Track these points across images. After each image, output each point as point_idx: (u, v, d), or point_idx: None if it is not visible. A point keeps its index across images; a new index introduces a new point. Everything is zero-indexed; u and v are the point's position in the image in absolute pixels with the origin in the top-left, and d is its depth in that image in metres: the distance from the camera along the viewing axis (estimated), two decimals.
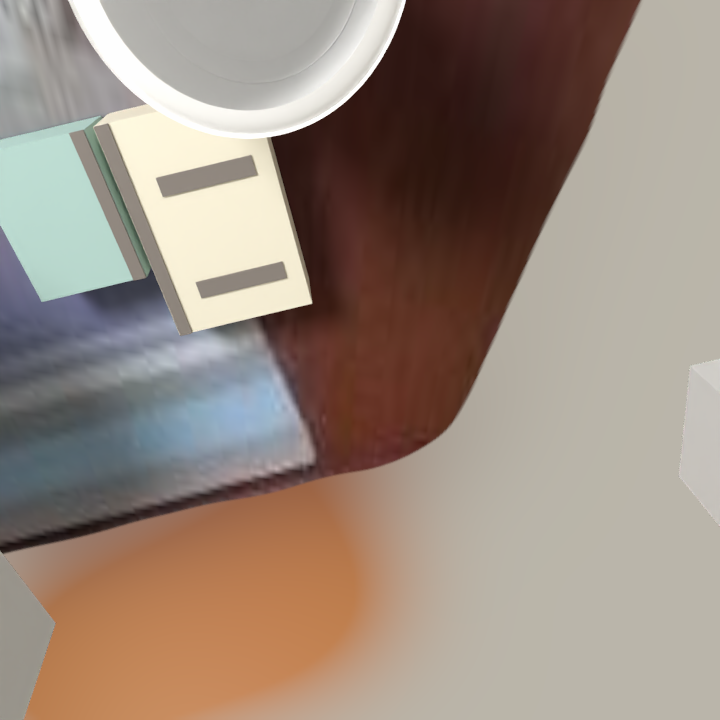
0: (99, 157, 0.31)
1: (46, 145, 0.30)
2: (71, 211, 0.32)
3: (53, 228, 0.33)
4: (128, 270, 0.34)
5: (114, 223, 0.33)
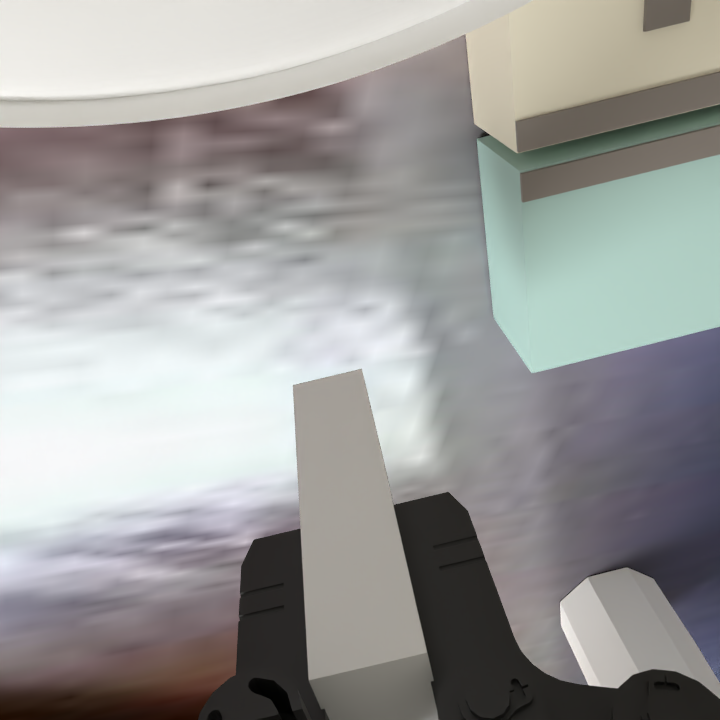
0: (570, 152, 0.15)
1: (536, 245, 0.16)
2: (660, 226, 0.16)
3: (678, 263, 0.17)
4: None
5: (709, 144, 0.15)
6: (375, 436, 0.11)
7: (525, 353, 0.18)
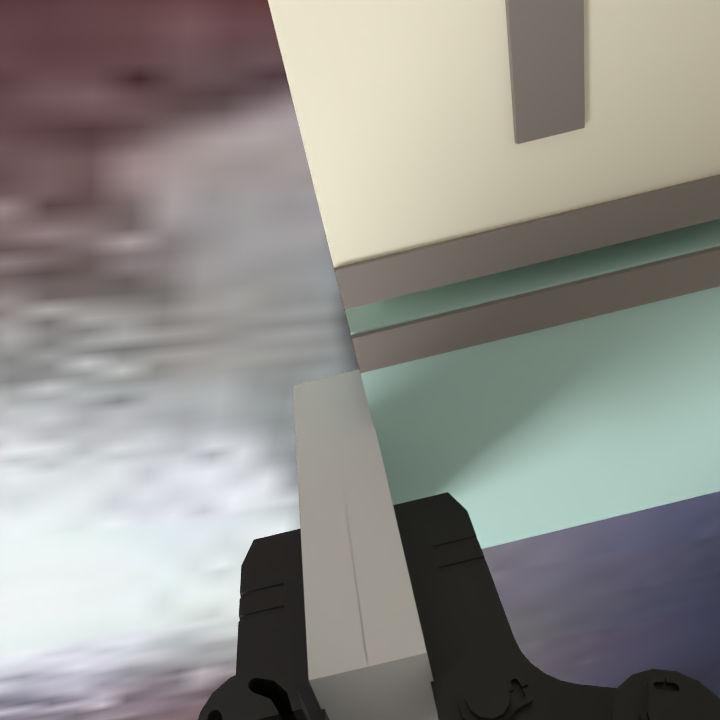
0: (430, 300, 0.11)
1: (391, 421, 0.11)
2: (568, 392, 0.12)
3: (598, 435, 0.12)
4: None
5: (628, 293, 0.10)
6: (375, 436, 0.11)
7: None
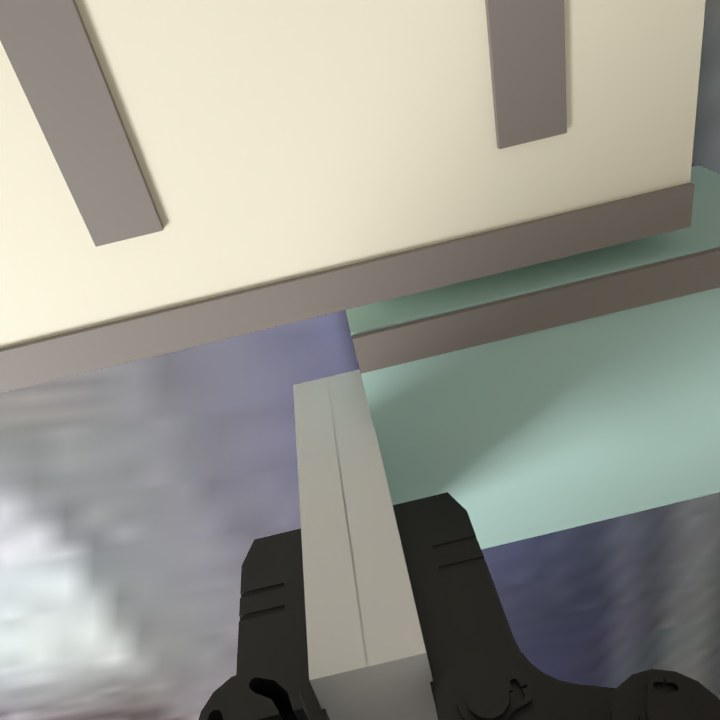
0: (431, 300, 0.11)
1: (391, 422, 0.11)
2: (568, 393, 0.12)
3: (599, 436, 0.12)
4: None
5: (629, 293, 0.10)
6: (374, 436, 0.11)
7: None
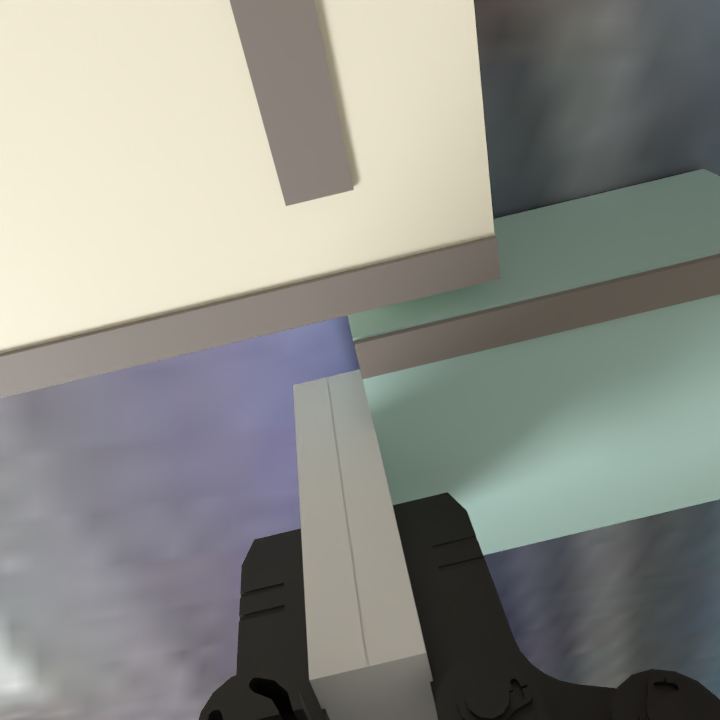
0: (433, 306, 0.11)
1: (393, 428, 0.11)
2: (572, 399, 0.11)
3: (602, 442, 0.12)
4: None
5: (633, 299, 0.10)
6: (374, 436, 0.11)
7: None
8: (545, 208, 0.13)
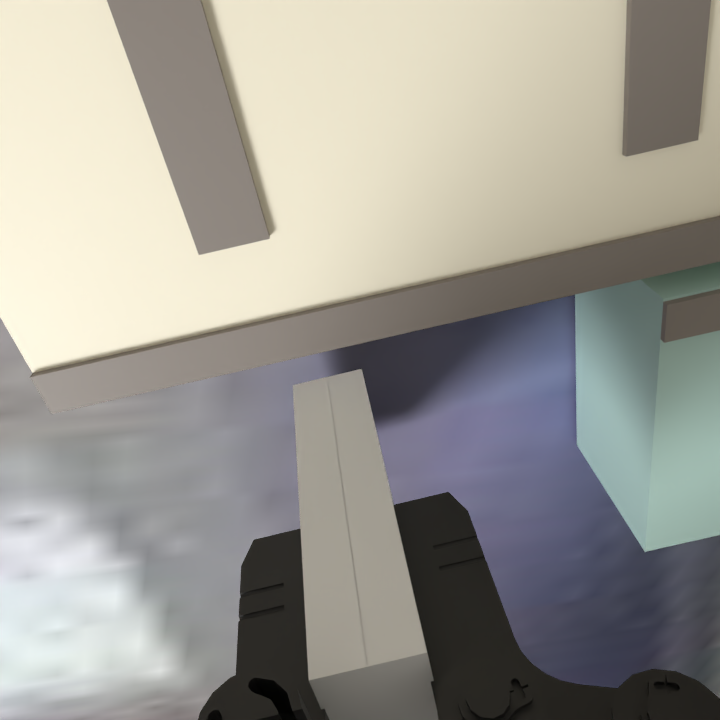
0: None
1: (674, 396, 0.11)
2: None
3: None
4: None
5: None
6: (375, 436, 0.11)
7: (635, 522, 0.13)
8: None
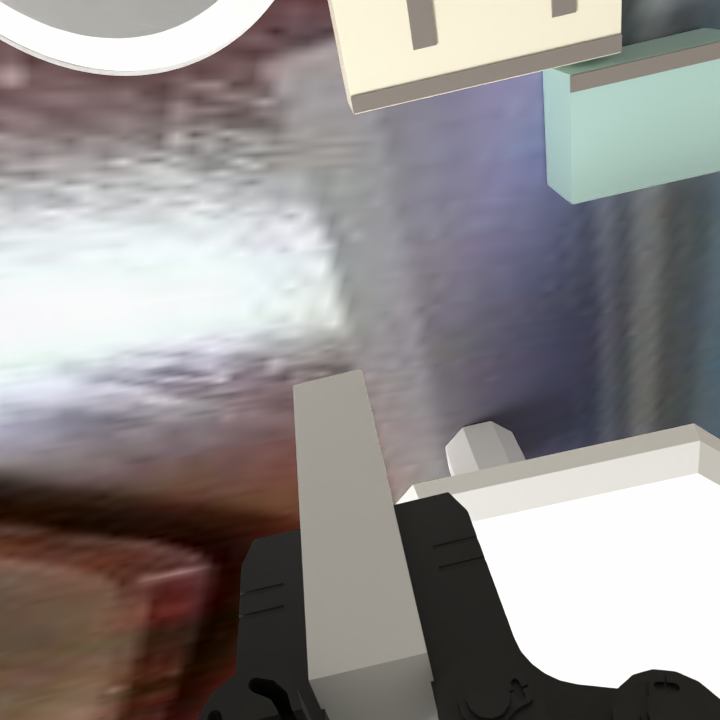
0: (598, 66, 0.28)
1: (577, 120, 0.29)
2: (648, 110, 0.29)
3: (659, 135, 0.29)
4: None
5: (675, 61, 0.28)
6: (375, 436, 0.11)
7: (568, 193, 0.31)
8: (634, 44, 0.31)
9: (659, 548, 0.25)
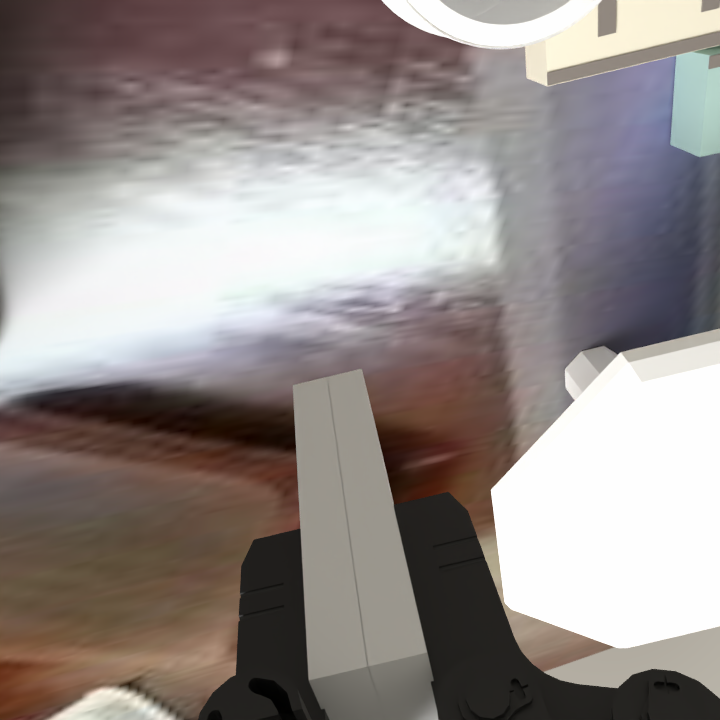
0: None
1: (711, 90, 0.38)
2: None
3: None
4: None
5: None
6: (375, 436, 0.11)
7: (696, 148, 0.40)
8: None
9: None
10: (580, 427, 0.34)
